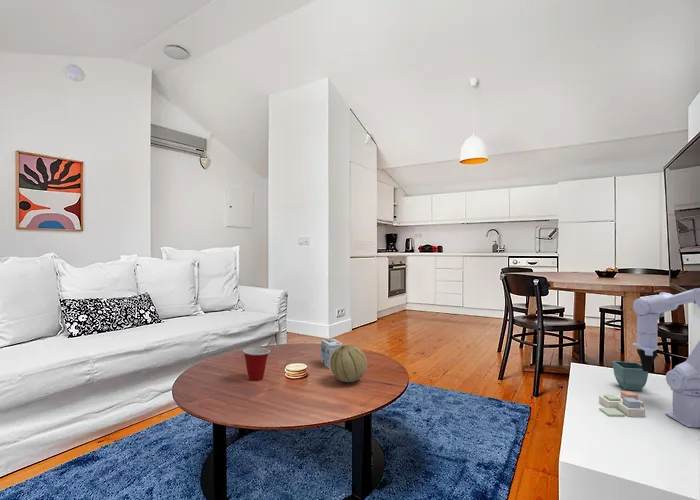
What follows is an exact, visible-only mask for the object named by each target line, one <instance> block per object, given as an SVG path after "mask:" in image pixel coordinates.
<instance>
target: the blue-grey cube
mask: <svg viewBox="0 0 700 500" xmlns="http://www.w3.org/2000/svg"><path fill="white" fill-rule="evenodd" d="M638 400H639V399H638ZM638 400H636V399H634V398H623V405H625V406H626V407H628V408H636V409H640V401H641V400H640V401H638Z"/></svg>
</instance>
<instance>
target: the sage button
mask: <svg viewBox="0 0 700 500" xmlns="http://www.w3.org/2000/svg"><path fill="white" fill-rule="evenodd" d="M603 396H604V398H606V399H607V400H609V401H621V399H620V398H618V397H617V396H618V395H615V394H603Z"/></svg>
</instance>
